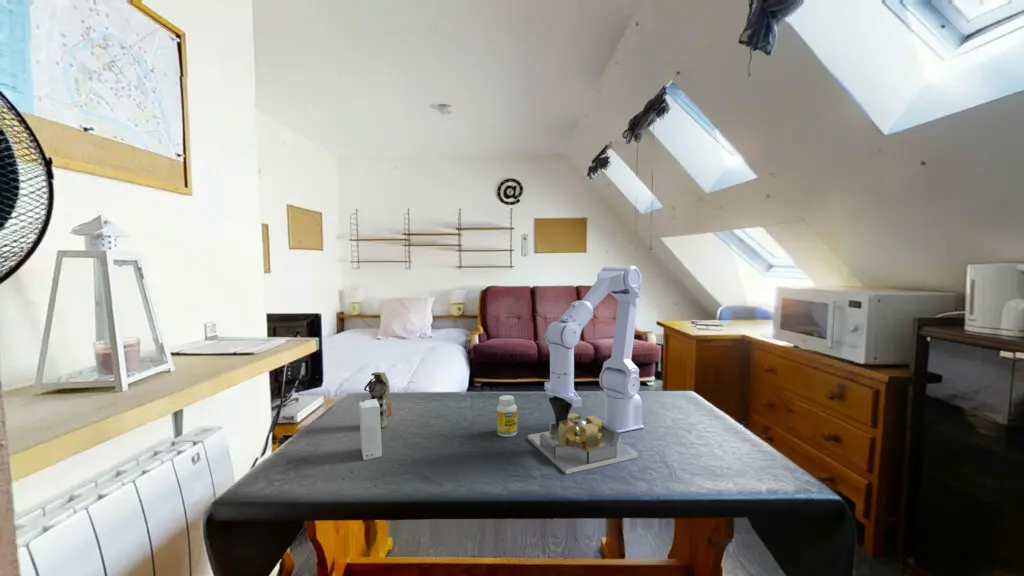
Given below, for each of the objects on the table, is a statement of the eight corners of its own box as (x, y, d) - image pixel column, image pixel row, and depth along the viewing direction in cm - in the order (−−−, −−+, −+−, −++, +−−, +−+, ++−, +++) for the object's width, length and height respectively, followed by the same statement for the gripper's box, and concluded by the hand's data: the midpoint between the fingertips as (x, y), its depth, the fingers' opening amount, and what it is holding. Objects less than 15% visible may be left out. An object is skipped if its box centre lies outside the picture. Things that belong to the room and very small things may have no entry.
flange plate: (590, 427, 108) (590, 403, 108) (637, 457, 90) (638, 429, 90) (527, 438, 101) (527, 413, 100) (566, 474, 83) (566, 443, 83)
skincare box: (382, 457, 91) (381, 405, 91) (362, 461, 89) (360, 408, 89) (379, 446, 97) (378, 397, 96) (359, 450, 95) (358, 400, 94)
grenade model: (360, 431, 106) (359, 376, 105) (378, 421, 112) (377, 370, 112) (380, 434, 104) (378, 378, 103) (397, 425, 110) (396, 372, 109)
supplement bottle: (510, 427, 108) (510, 393, 108) (521, 434, 104) (521, 398, 103) (493, 432, 105) (493, 396, 105) (504, 439, 101) (503, 402, 100)
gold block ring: (585, 431, 102) (585, 410, 102) (609, 447, 93) (609, 423, 93) (551, 437, 98) (551, 415, 98) (573, 455, 89) (573, 430, 89)
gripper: (533, 366, 100) (533, 418, 101) (562, 381, 87) (562, 441, 87) (558, 363, 103) (558, 414, 103) (589, 378, 89) (589, 436, 90)
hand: (561, 427), depth 96 cm, fingers closed, pressing on gold block ring
